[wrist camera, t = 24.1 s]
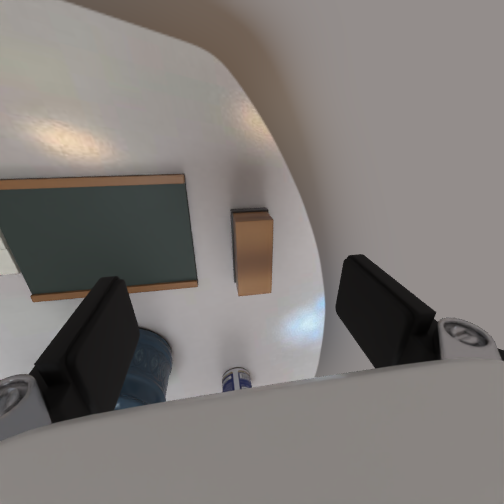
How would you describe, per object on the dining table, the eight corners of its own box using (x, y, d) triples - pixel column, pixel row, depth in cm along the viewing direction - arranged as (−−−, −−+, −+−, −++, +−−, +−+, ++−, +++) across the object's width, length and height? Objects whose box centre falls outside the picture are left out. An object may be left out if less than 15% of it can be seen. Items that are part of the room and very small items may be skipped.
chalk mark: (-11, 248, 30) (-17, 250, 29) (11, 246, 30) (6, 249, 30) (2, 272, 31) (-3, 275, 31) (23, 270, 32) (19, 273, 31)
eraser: (230, 209, 32) (233, 220, 28) (266, 207, 33) (275, 218, 29) (233, 278, 37) (237, 297, 33) (265, 275, 38) (272, 294, 33)
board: (-19, 179, 27) (-27, 181, 26) (184, 173, 30) (183, 174, 29) (37, 298, 33) (32, 302, 33) (197, 283, 36) (197, 287, 36)
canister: (79, 371, 40) (-6, 522, 24) (106, 314, 36) (27, 449, 20) (155, 388, 44) (125, 525, 29) (186, 340, 41) (171, 467, 25)
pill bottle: (224, 388, 47) (227, 444, 39) (220, 370, 45) (222, 425, 36) (251, 383, 48) (260, 437, 39) (248, 364, 46) (257, 417, 37)
